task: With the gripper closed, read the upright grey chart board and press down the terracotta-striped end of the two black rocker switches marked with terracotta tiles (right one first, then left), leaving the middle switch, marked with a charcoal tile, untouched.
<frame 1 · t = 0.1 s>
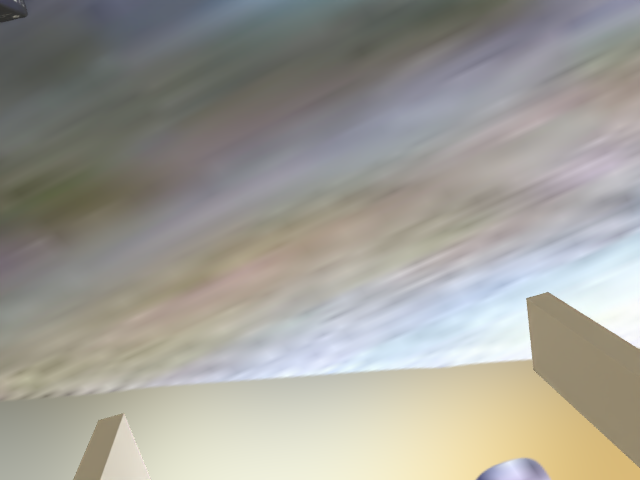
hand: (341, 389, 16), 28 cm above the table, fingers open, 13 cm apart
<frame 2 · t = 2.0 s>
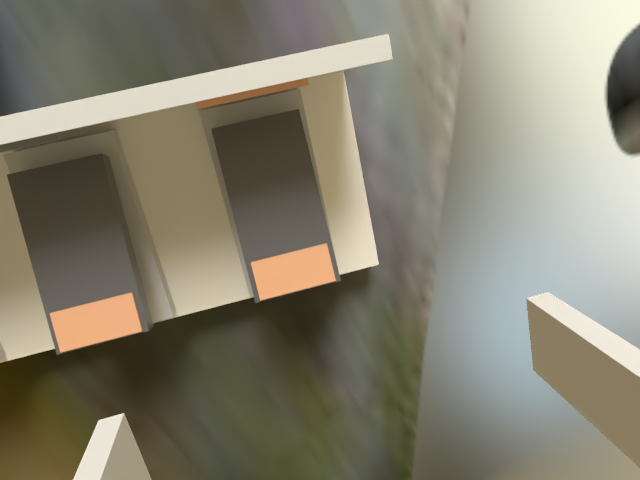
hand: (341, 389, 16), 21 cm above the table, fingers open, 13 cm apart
switch unit: (108, 217, 33), on the table
switch 2: (82, 253, 27), point 7 cm above the table, hinge at -15.0°
switch 3: (277, 206, 28), point 7 cm above the table, hinge at -15.0°
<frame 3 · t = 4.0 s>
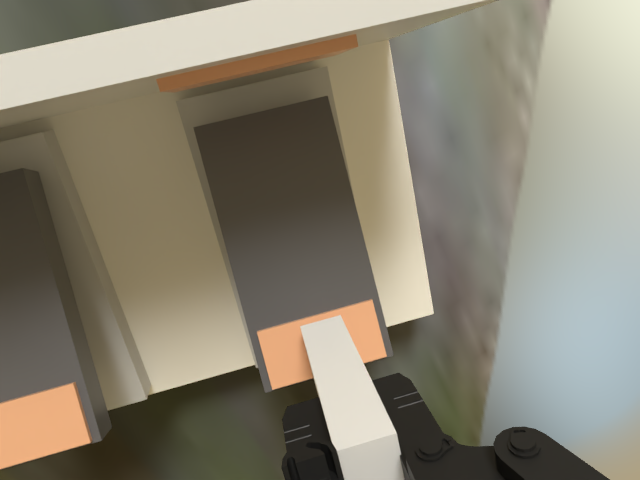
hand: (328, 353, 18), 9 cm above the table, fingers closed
switch unit: (55, 254, 24), on the table
switch 3: (295, 244, 19), point 7 cm above the table, hinge at -15.0°, touching gripper
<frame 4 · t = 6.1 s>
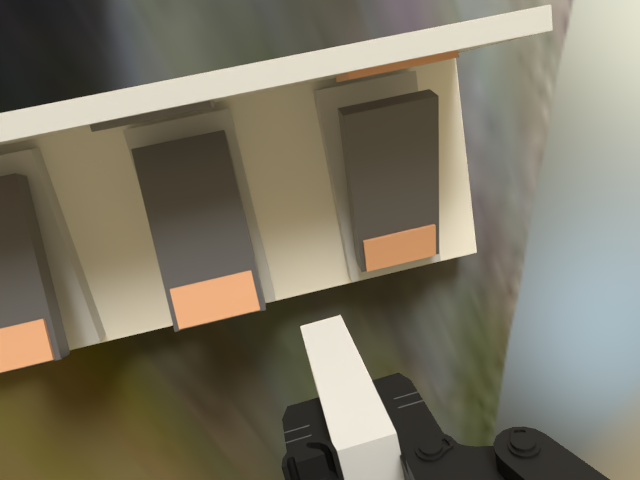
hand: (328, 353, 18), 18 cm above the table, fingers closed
switch unit: (207, 200, 33), on the table
switch 2: (200, 230, 27), point 7 cm above the table, hinge at -15.0°
switch 3: (393, 188, 28), point 7 cm above the table, hinge at 17.6°
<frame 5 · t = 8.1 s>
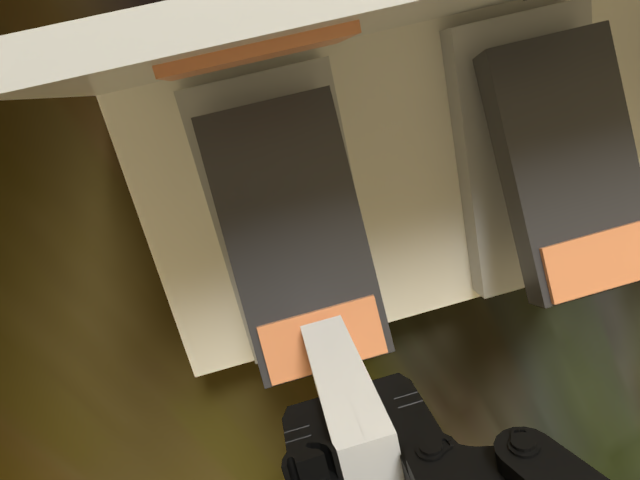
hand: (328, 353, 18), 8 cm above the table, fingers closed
switch unit: (486, 138, 25), on the table
switch 2: (568, 166, 19), point 7 cm above the table, hinge at -15.0°
switch 1: (295, 238, 18), point 7 cm above the table, hinge at -13.6°, touching gripper
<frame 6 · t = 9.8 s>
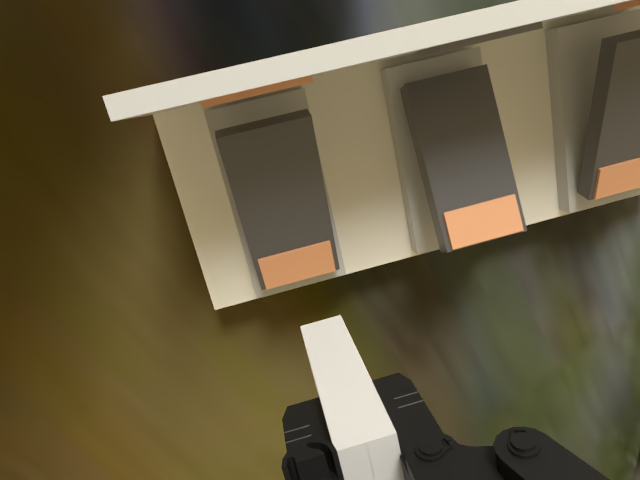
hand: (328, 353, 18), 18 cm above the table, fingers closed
switch unit: (423, 142, 35), on the table
switch 2: (463, 159, 29), point 7 cm above the table, hinge at -15.0°
switch 3: (633, 116, 30), point 7 cm above the table, hinge at 18.0°
switch 1: (283, 206, 28), point 7 cm above the table, hinge at 16.2°
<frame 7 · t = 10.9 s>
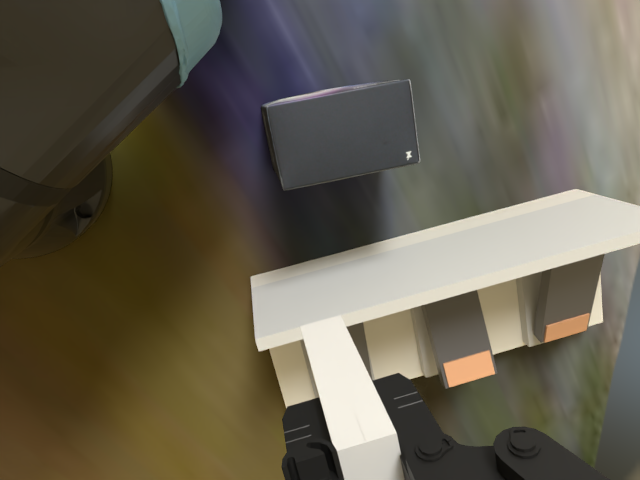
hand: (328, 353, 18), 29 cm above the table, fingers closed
switch unit: (428, 294, 51), on the table
switch 2: (456, 326, 45), point 7 cm above the table, hinge at -15.0°
switch 3: (567, 295, 46), point 7 cm above the table, hinge at 18.0°
small box: (323, 127, 45), on the table
switch 1: (340, 361, 44), point 7 cm above the table, hinge at 16.8°
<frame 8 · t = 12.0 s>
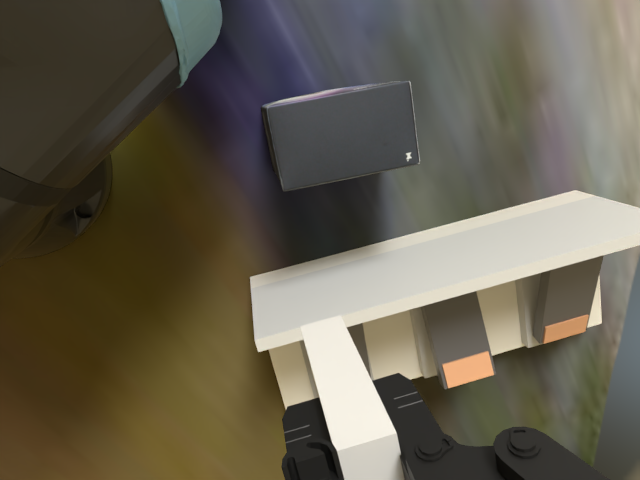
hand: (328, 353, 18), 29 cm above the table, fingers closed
switch unit: (428, 295, 51), on the table
switch 2: (455, 327, 45), point 7 cm above the table, hinge at -15.0°
switch 3: (566, 296, 46), point 7 cm above the table, hinge at 18.0°
small box: (323, 127, 45), on the table
switch 1: (339, 361, 44), point 7 cm above the table, hinge at 16.8°
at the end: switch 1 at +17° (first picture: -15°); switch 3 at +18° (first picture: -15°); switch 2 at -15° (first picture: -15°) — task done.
